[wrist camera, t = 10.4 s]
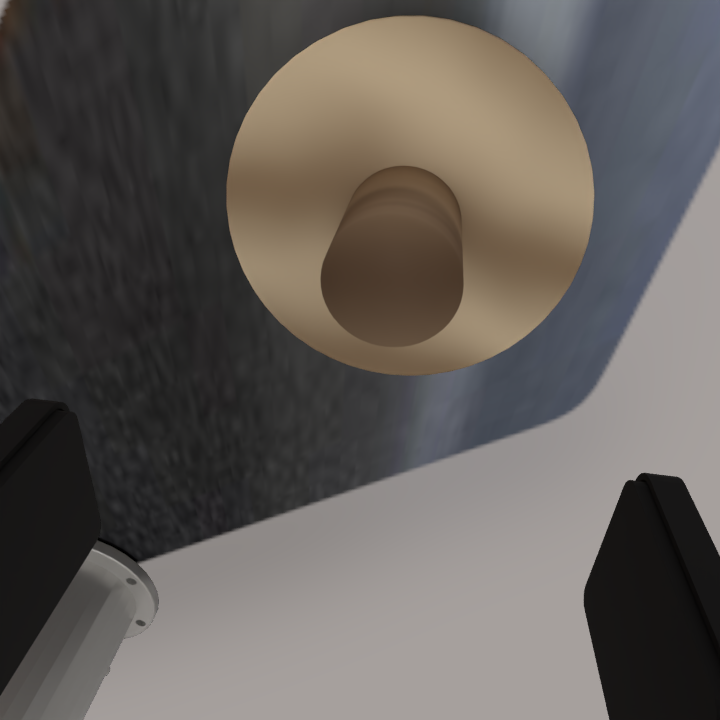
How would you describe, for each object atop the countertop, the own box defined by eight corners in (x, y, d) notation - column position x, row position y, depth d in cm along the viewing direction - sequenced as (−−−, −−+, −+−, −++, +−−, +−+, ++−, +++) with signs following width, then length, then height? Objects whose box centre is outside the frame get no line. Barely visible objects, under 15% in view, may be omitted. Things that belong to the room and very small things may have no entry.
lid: (545, 381, 25) (567, 480, 20) (241, 346, 26) (193, 433, 21) (637, 30, 18) (704, 51, 13) (221, 1, 19) (142, 11, 14)
